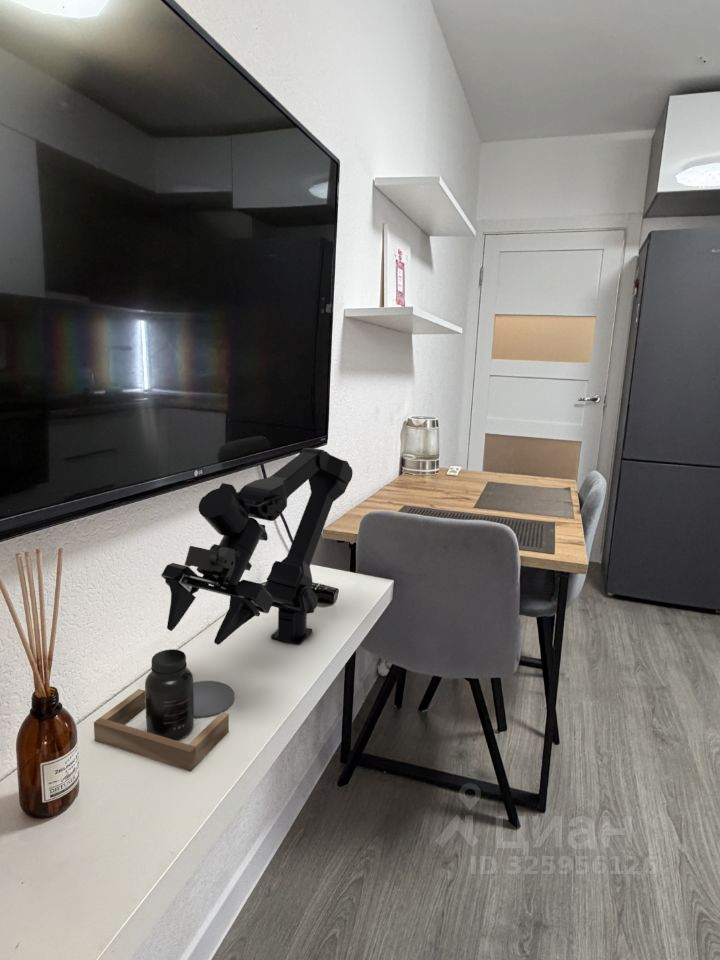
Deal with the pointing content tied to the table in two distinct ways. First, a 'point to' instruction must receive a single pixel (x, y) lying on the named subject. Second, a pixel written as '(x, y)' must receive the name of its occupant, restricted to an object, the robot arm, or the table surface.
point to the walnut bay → (152, 745)
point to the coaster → (211, 698)
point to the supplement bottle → (169, 696)
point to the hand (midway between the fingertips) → (192, 636)
